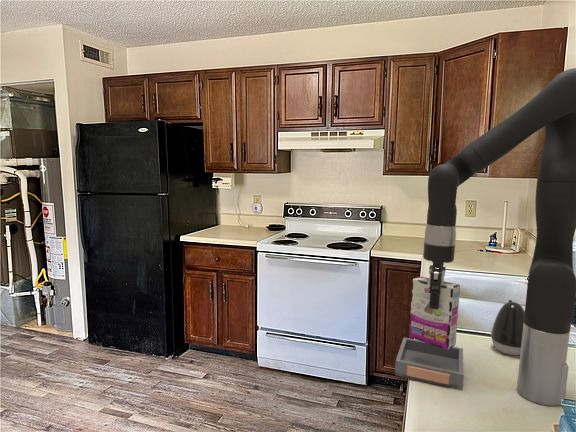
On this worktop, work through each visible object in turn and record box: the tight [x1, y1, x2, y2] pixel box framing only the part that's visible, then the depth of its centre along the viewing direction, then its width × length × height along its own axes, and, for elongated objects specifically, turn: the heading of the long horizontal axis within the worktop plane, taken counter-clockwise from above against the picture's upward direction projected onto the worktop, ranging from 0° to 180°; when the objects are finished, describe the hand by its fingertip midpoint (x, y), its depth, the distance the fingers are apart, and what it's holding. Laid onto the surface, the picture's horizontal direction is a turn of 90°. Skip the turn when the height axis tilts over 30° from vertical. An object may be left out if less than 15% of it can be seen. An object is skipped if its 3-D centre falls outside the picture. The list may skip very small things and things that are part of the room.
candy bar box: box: [408, 276, 461, 350], centre depth 106 cm, size 11×5×16 cm, turn 45°
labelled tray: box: [394, 337, 464, 391], centre depth 107 cm, size 16×17×4 cm
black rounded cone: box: [490, 299, 525, 356], centre depth 119 cm, size 10×10×15 cm
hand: (434, 304), depth 106 cm, fingers closed on candy bar box, 6 cm apart
